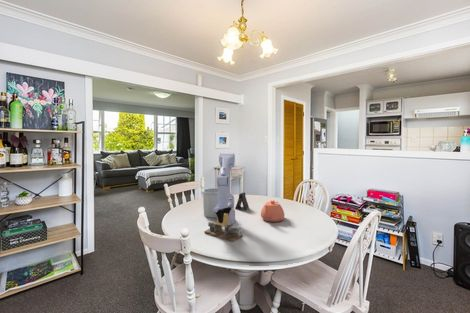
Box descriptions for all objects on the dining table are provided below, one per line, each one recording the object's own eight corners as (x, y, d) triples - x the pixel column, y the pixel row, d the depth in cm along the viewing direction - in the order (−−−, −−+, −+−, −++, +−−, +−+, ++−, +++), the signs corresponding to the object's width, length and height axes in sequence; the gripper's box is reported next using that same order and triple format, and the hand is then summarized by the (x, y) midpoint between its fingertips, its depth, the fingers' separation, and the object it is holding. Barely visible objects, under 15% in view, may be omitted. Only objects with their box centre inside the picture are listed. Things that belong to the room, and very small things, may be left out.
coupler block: (228, 224, 129) (228, 213, 128) (224, 226, 125) (224, 215, 125) (221, 222, 131) (221, 211, 131) (216, 224, 128) (216, 213, 128)
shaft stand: (204, 233, 131) (204, 222, 130) (214, 228, 138) (214, 218, 138) (233, 242, 119) (233, 231, 119) (242, 236, 126) (242, 225, 126)
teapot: (276, 227, 140) (277, 207, 139) (253, 222, 148) (254, 203, 147) (288, 216, 158) (288, 198, 158) (267, 212, 167) (267, 195, 166)
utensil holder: (214, 219, 153) (214, 193, 151) (198, 215, 162) (198, 190, 160) (228, 213, 164) (228, 189, 163) (212, 209, 173) (212, 186, 172)
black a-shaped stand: (235, 208, 176) (235, 193, 175) (238, 206, 181) (238, 191, 180) (246, 210, 172) (246, 194, 171) (249, 208, 177) (249, 192, 176)
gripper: (224, 193, 135) (225, 216, 136) (208, 199, 123) (209, 224, 124) (235, 195, 131) (234, 218, 132) (219, 201, 119) (219, 226, 120)
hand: (223, 221), depth 128 cm, fingers closed on coupler block, 4 cm apart
